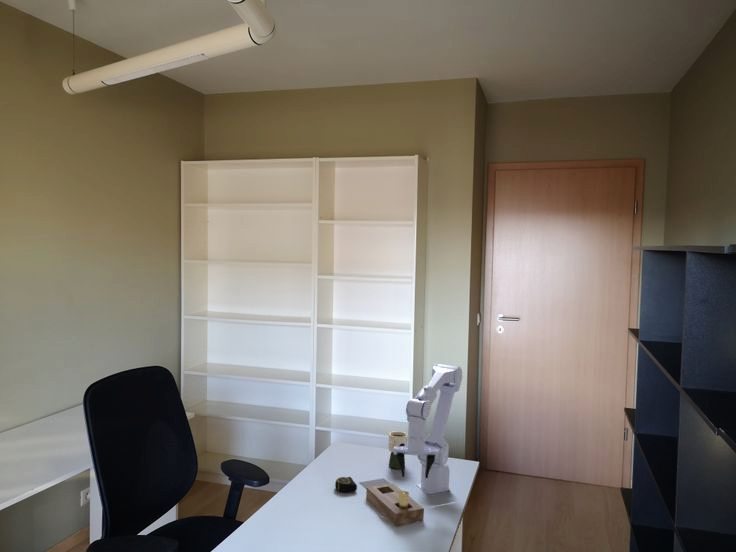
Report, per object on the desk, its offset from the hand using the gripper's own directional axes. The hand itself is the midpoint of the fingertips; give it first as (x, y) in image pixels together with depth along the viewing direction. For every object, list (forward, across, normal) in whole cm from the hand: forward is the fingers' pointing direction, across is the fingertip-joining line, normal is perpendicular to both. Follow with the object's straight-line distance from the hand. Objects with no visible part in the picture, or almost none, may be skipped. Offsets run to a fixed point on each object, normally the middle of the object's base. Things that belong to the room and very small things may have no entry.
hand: (414, 476), depth 191 cm
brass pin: (+9, -4, -10) cm, 14 cm away
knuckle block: (+9, -6, -5) cm, 12 cm away
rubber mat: (+9, -12, +11) cm, 19 cm away
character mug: (+10, -6, +30) cm, 32 cm away
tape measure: (+10, -23, +8) cm, 26 cm away
